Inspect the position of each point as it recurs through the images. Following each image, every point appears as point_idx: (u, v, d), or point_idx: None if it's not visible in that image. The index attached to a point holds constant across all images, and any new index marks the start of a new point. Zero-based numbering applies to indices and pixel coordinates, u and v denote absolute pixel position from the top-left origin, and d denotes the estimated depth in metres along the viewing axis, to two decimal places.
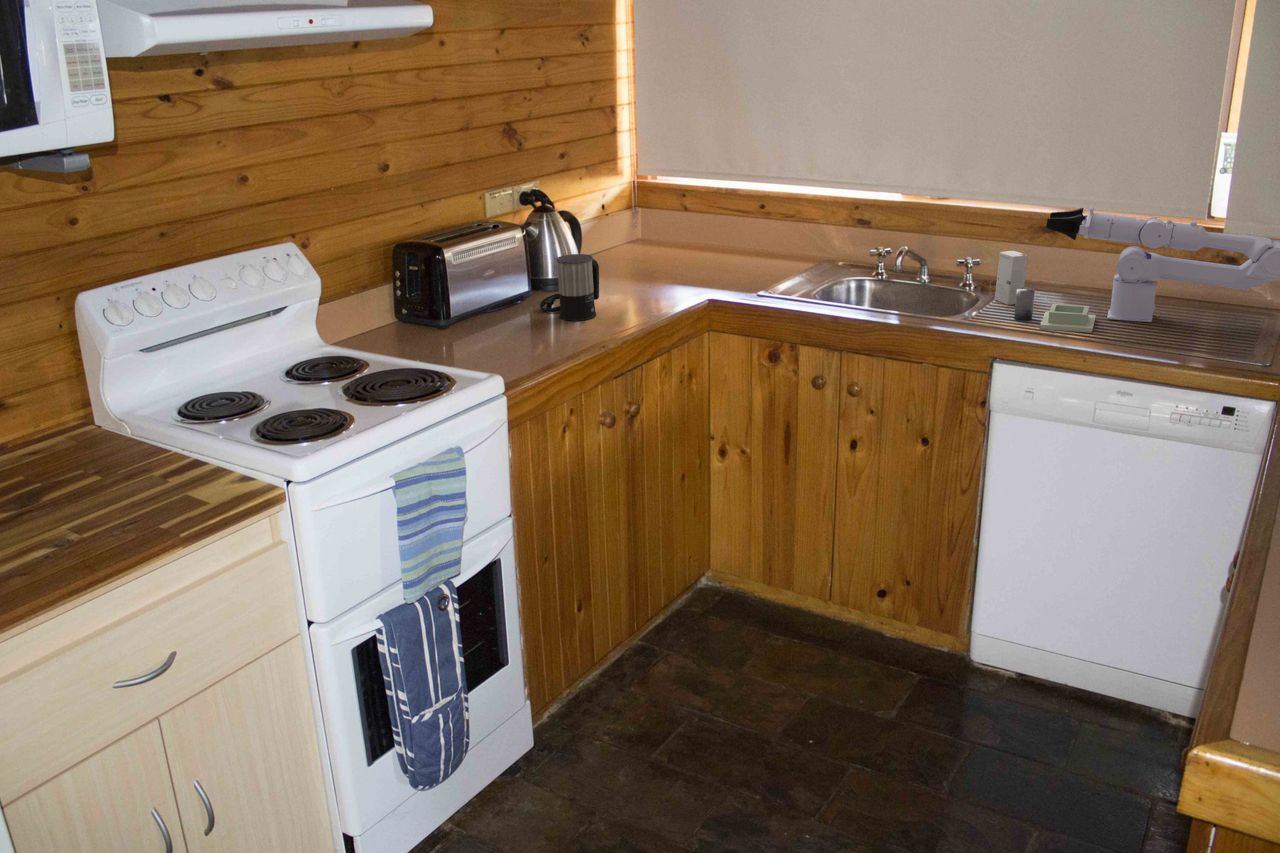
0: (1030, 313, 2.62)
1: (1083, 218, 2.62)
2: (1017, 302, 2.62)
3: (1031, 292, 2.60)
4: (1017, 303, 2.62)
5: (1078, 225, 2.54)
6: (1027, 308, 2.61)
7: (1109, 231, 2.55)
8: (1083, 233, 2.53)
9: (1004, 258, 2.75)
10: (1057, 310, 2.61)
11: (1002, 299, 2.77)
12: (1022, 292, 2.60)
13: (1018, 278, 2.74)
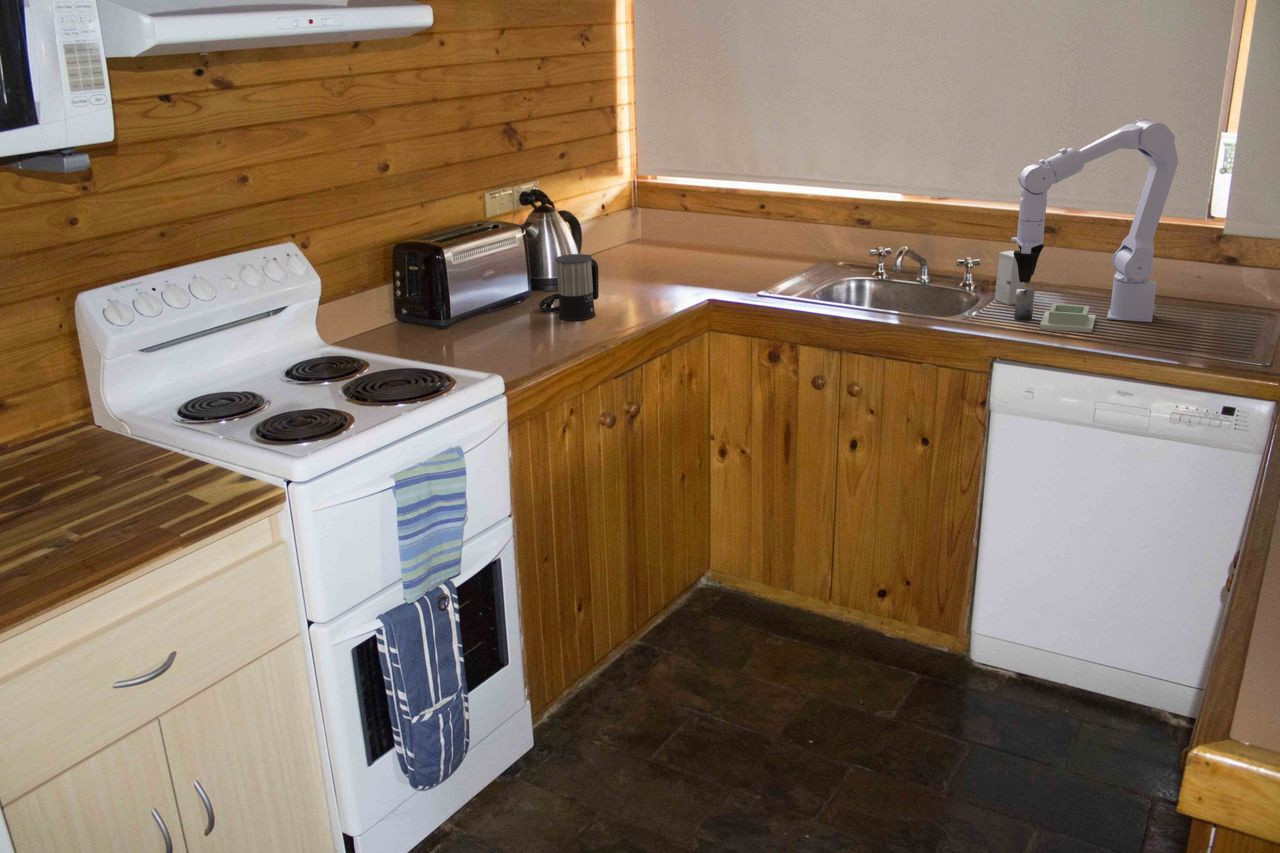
0: (1030, 313, 2.62)
1: None
2: (1017, 302, 2.62)
3: (1031, 292, 2.60)
4: (1017, 303, 2.62)
5: (1022, 254, 2.53)
6: (1027, 308, 2.61)
7: (1032, 222, 2.53)
8: (1029, 249, 2.51)
9: (1004, 258, 2.75)
10: (1057, 310, 2.61)
11: (1002, 299, 2.77)
12: (1022, 292, 2.60)
13: (1018, 278, 2.74)
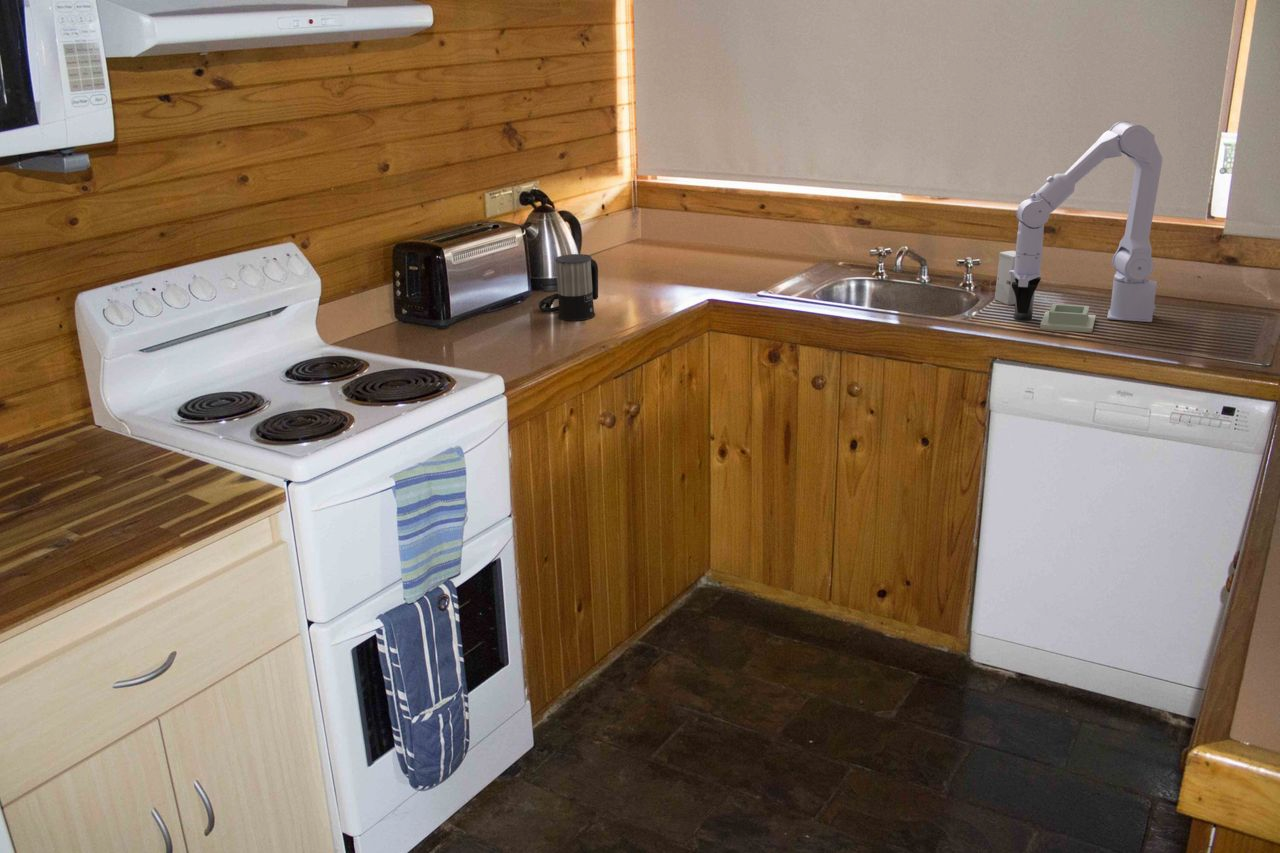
0: (1030, 313, 2.62)
1: None
2: None
3: None
4: None
5: None
6: None
7: (1029, 255, 2.56)
8: (1026, 282, 2.54)
9: (1004, 258, 2.75)
10: (1057, 310, 2.61)
11: (1002, 299, 2.77)
12: None
13: None
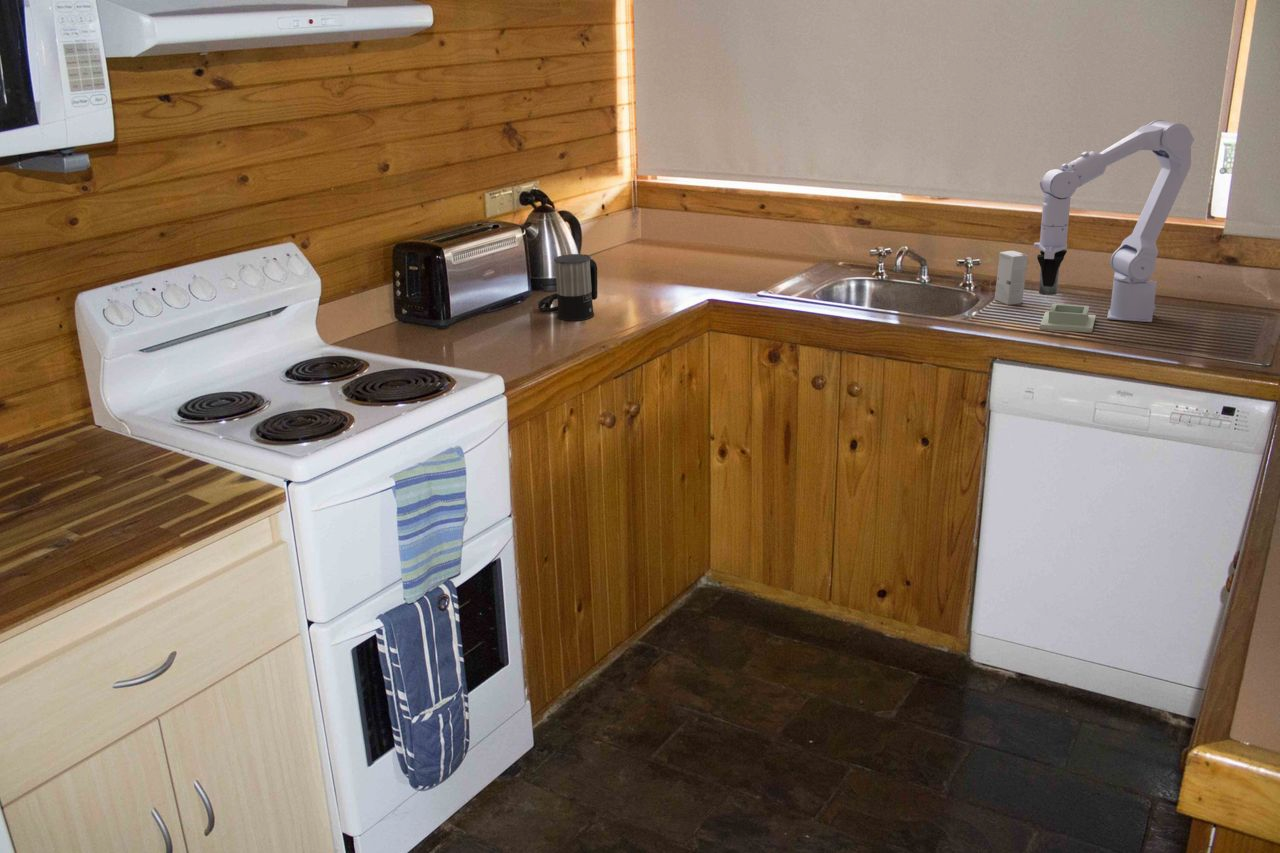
0: (1055, 287, 2.56)
1: None
2: None
3: None
4: None
5: None
6: None
7: (1055, 227, 2.51)
8: (1052, 254, 2.48)
9: (1004, 258, 2.75)
10: (1057, 310, 2.61)
11: (1002, 299, 2.77)
12: None
13: (1018, 278, 2.74)
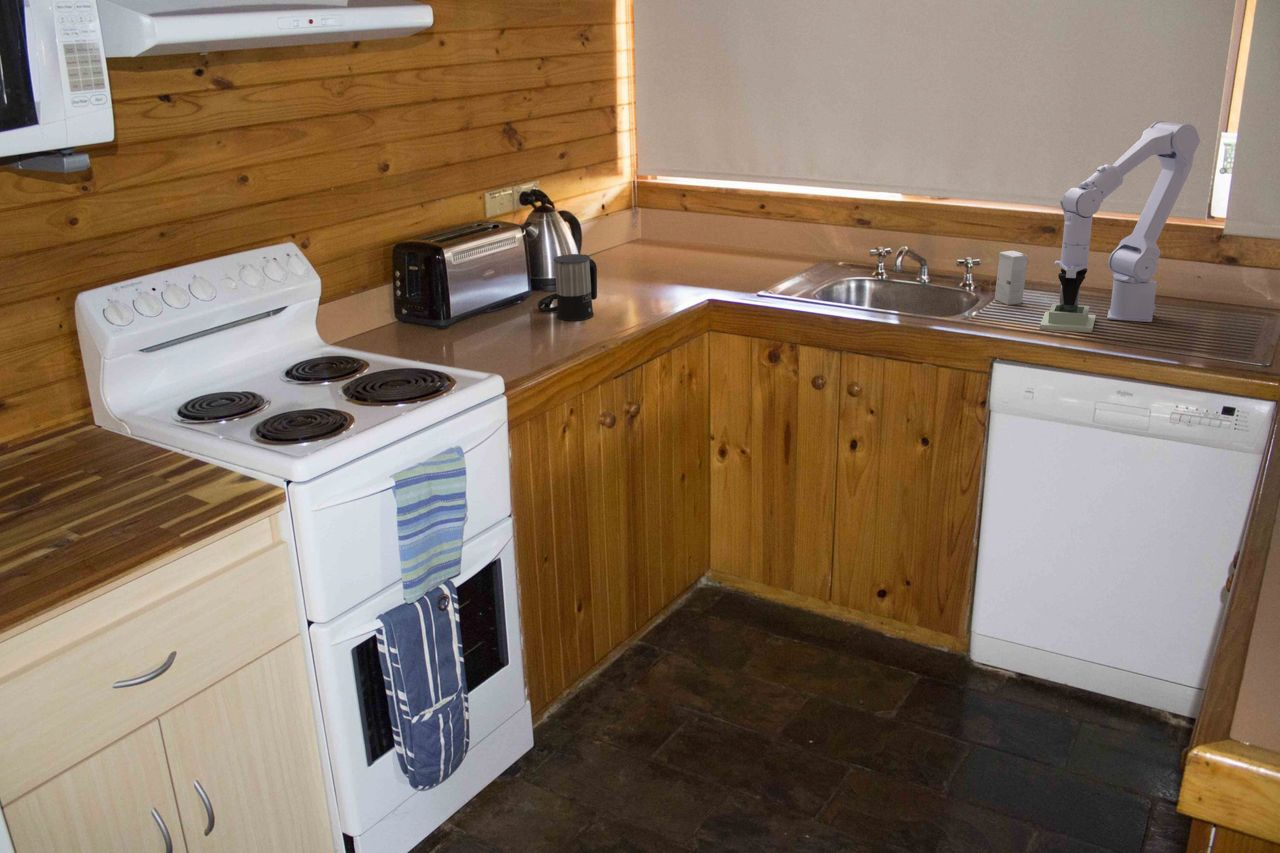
0: (1076, 306, 2.55)
1: None
2: (1062, 294, 2.55)
3: None
4: (1062, 296, 2.55)
5: None
6: None
7: (1076, 245, 2.49)
8: (1074, 273, 2.47)
9: (1004, 258, 2.75)
10: (1057, 310, 2.61)
11: (1002, 299, 2.77)
12: None
13: (1018, 278, 2.74)
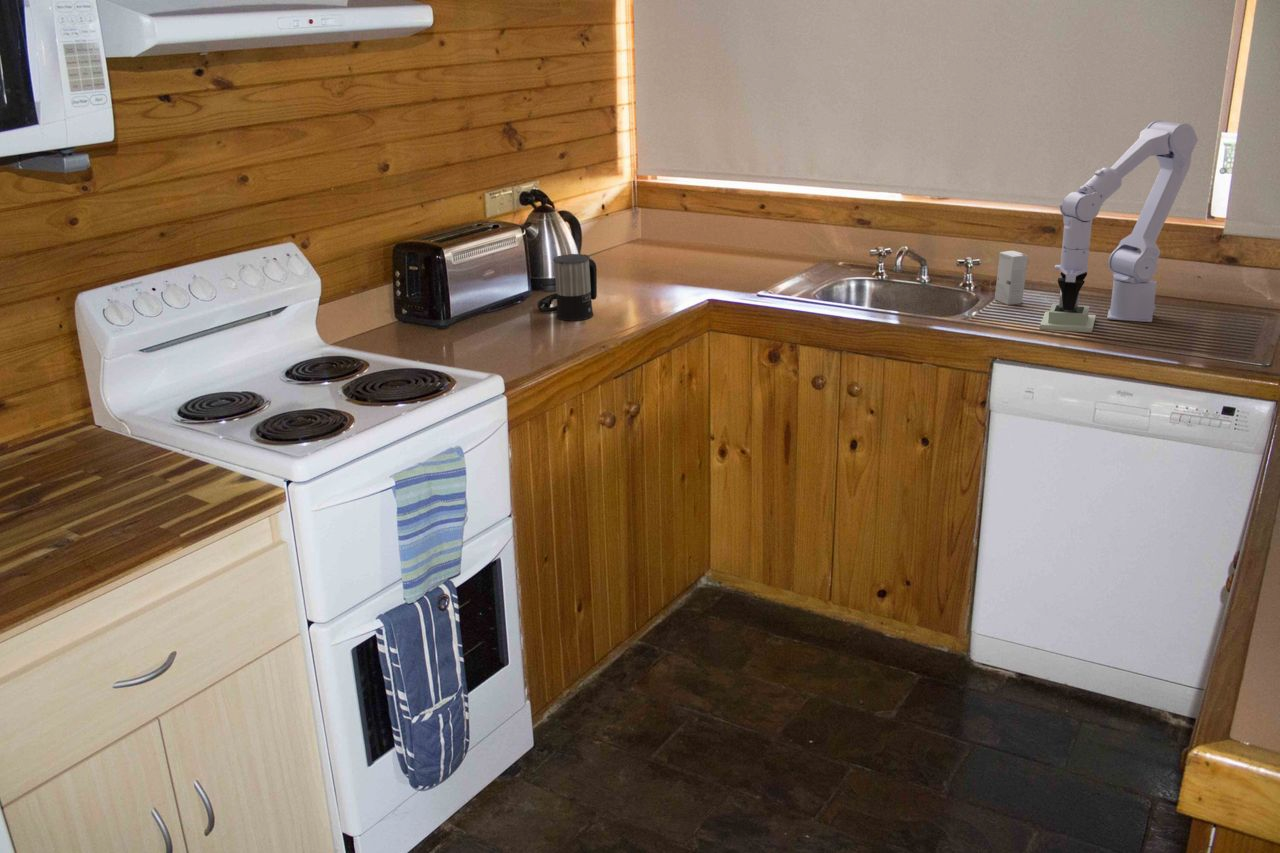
0: None
1: None
2: (1061, 302, 2.56)
3: None
4: (1061, 303, 2.56)
5: (1067, 281, 2.50)
6: None
7: (1076, 250, 2.49)
8: (1073, 277, 2.47)
9: (1004, 258, 2.75)
10: (1057, 310, 2.61)
11: (1002, 299, 2.77)
12: None
13: (1018, 278, 2.74)
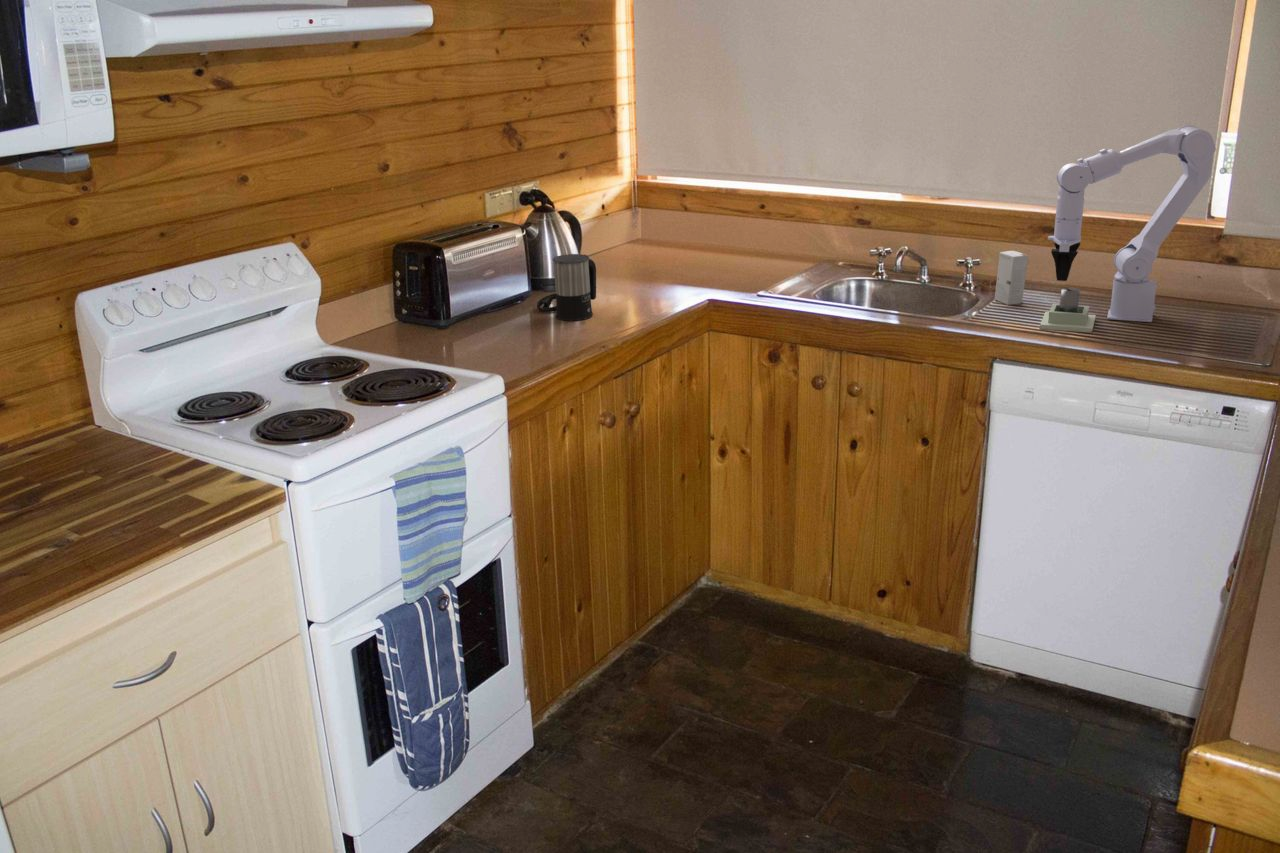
0: None
1: None
2: (1062, 303, 2.56)
3: (1077, 293, 2.54)
4: (1062, 304, 2.56)
5: (1060, 252, 2.54)
6: (1072, 309, 2.55)
7: (1069, 220, 2.54)
8: (1067, 247, 2.52)
9: (1004, 258, 2.75)
10: (1057, 310, 2.61)
11: (1002, 299, 2.77)
12: (1067, 293, 2.54)
13: (1018, 278, 2.74)
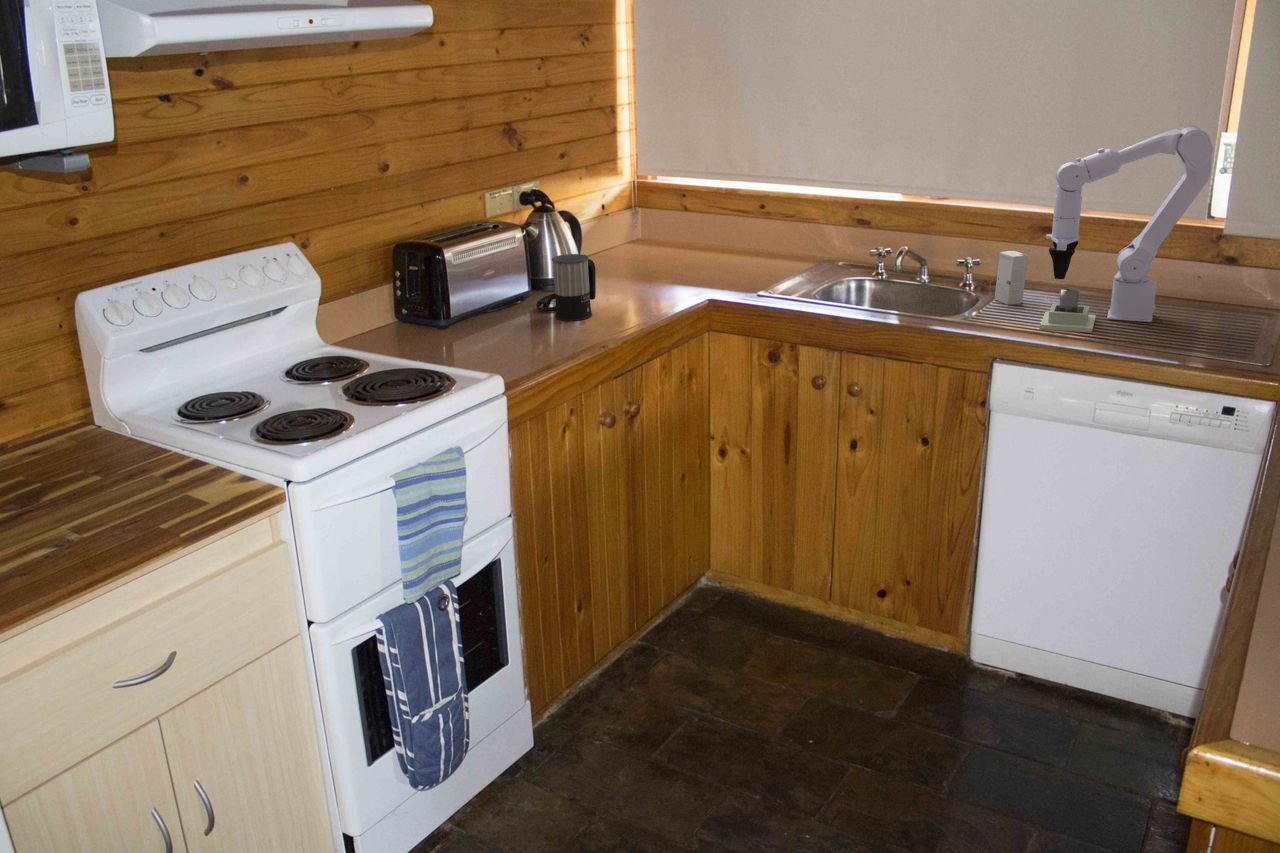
0: None
1: None
2: (1061, 303, 2.56)
3: (1076, 293, 2.54)
4: (1061, 304, 2.56)
5: (1058, 250, 2.55)
6: (1072, 309, 2.55)
7: (1067, 219, 2.55)
8: (1064, 245, 2.53)
9: (1004, 258, 2.75)
10: (1057, 310, 2.61)
11: (1002, 299, 2.77)
12: (1067, 293, 2.54)
13: (1018, 278, 2.74)
